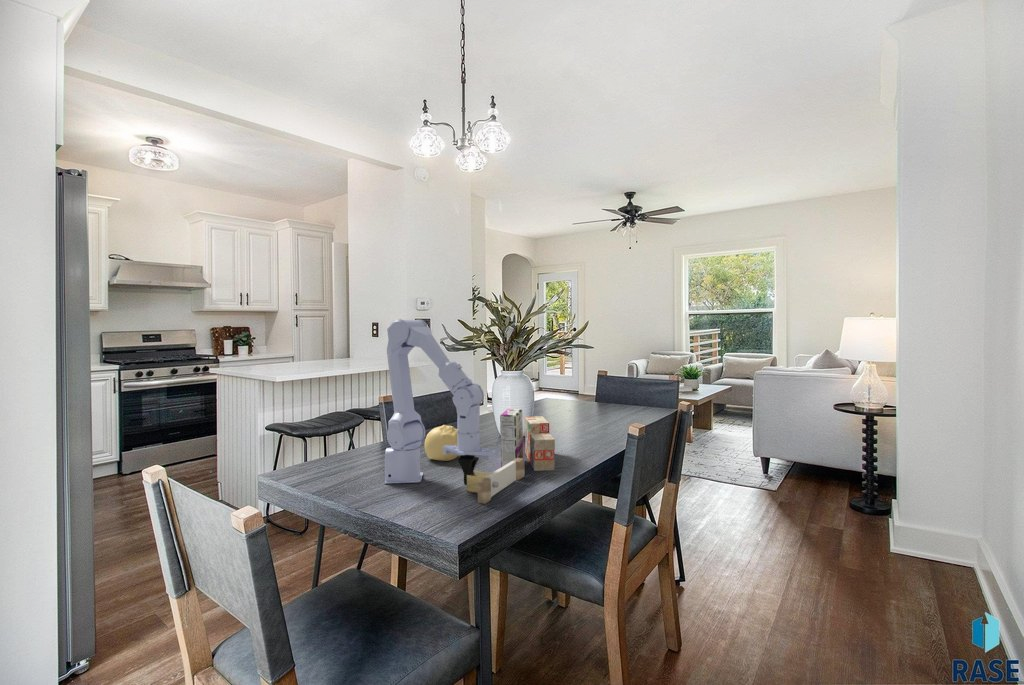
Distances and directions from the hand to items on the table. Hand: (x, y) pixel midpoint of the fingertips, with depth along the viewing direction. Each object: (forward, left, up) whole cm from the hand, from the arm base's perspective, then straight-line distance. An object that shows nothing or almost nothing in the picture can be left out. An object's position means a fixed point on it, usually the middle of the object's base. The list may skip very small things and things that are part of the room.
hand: (468, 484), depth 125 cm
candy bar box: (+13, +20, -2) cm, 24 cm away
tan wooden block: (+3, -2, -2) cm, 3 cm away
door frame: (+9, 0, -1) cm, 9 cm away
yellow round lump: (-8, +30, -2) cm, 32 cm away
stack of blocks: (+22, +25, -2) cm, 33 cm away
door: (+9, -1, -1) cm, 9 cm away
